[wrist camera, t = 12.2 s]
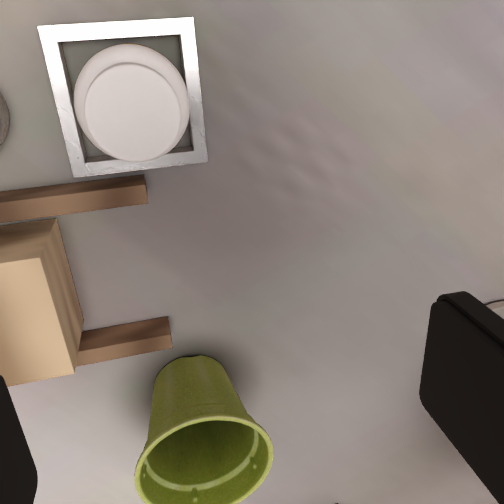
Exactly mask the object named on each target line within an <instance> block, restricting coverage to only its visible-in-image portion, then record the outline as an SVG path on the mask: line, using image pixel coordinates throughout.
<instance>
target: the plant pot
mask: <svg viewBox="0 0 504 504" xmlns="http://www.w3.org/2000/svg"><path fill="white" fill-rule="evenodd" d="M273 456H274V452H273V445H272V442H271V439H270V437H269V435H268V434H267V432H266V431H265V430H264V429H263V428H262V427H261V426H260V425H259V424H257V423H256V422H255V421H254V420H253V418H252V417H251V416H250V415H249V414H248V413H247V412H246V410H245V408H244V406H243V404H242V402H241V400H240V399H239V397H238V395H237V393H236V391H235V389H234V387H233V385H232V383H231V381H230V379H229V377H228V375H227V373H226V371H225V369H224V368H223V366H222V365H221V364H220V363H219V362H217V361H216V360H214V359H212V358H210V357H207V356H202V355H199V356H196V357H181V358H178V359H176V360H174V361H172V362H171V363H169V364H168V365H166V366H165V367H164V368H163V369H162V370H161V371H160V373H159V374H158V376H157V378H156V380H155V384H154V390H153V399H152V408H151V416H150V424H149V432H148V440H147V442H146V444H145V447H144V450H143V452H142V454H141V455H140V458H139V460H138V462H137V465H136V469H135V487H136V491H137V493H138V495H139V496H140V498H141V499H142V500H143V502H144V503H145V504H237V503H239V502H241V501H243V500H244V499H245V498H246V497H248V496H249V495H250V494H252V493H253V492H254V491H255V490H256V489H257V488H258V487H259V486H260V485H261V484H262V482H263V481H264V480H265V478H266V476H267V474H268V473H269V471H270V468H271V465H272V461H273Z"/></svg>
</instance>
